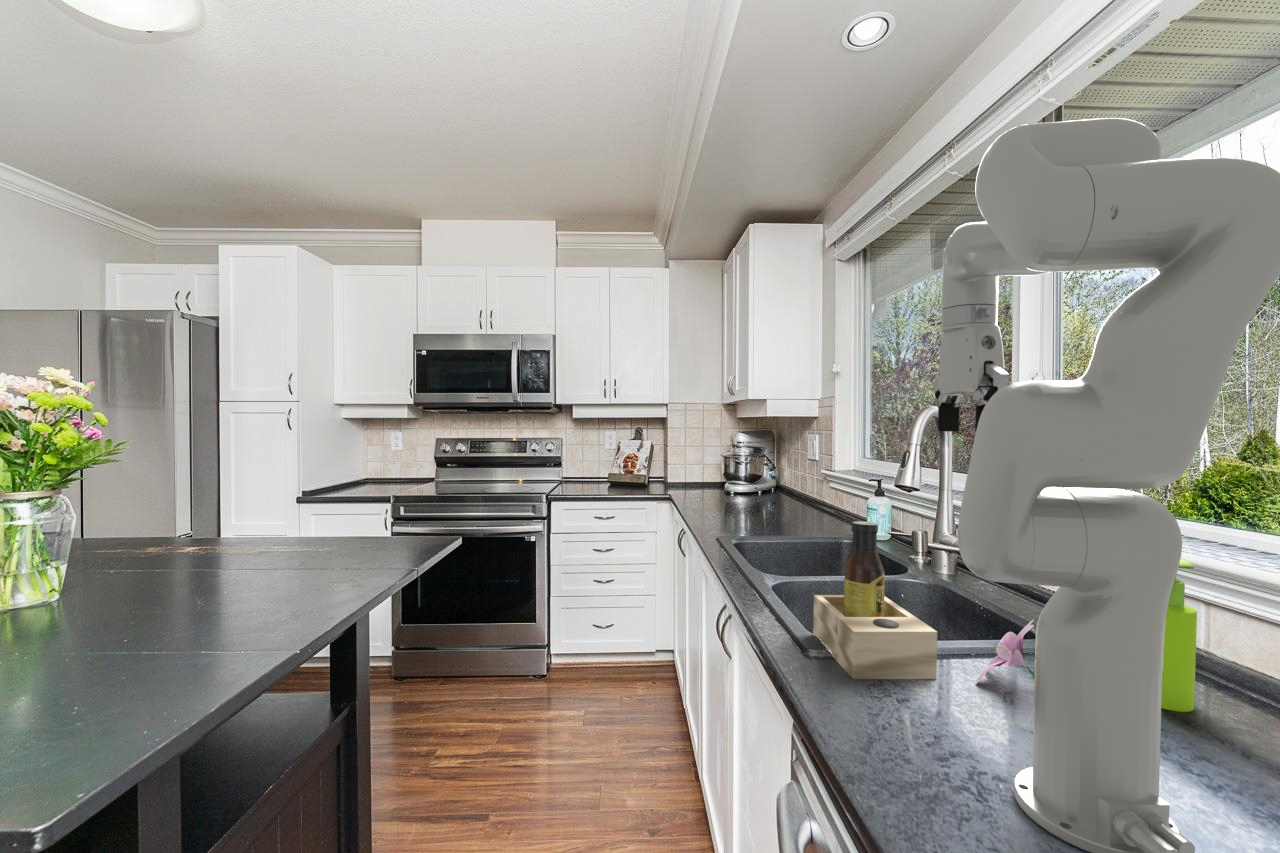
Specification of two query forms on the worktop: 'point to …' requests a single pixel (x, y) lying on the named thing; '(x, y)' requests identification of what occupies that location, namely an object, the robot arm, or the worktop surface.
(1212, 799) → the worktop surface
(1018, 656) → the lily
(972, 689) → the worktop surface
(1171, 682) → the soap dispenser
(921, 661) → the caddy
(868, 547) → the sauce bottle
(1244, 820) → the worktop surface
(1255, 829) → the worktop surface
